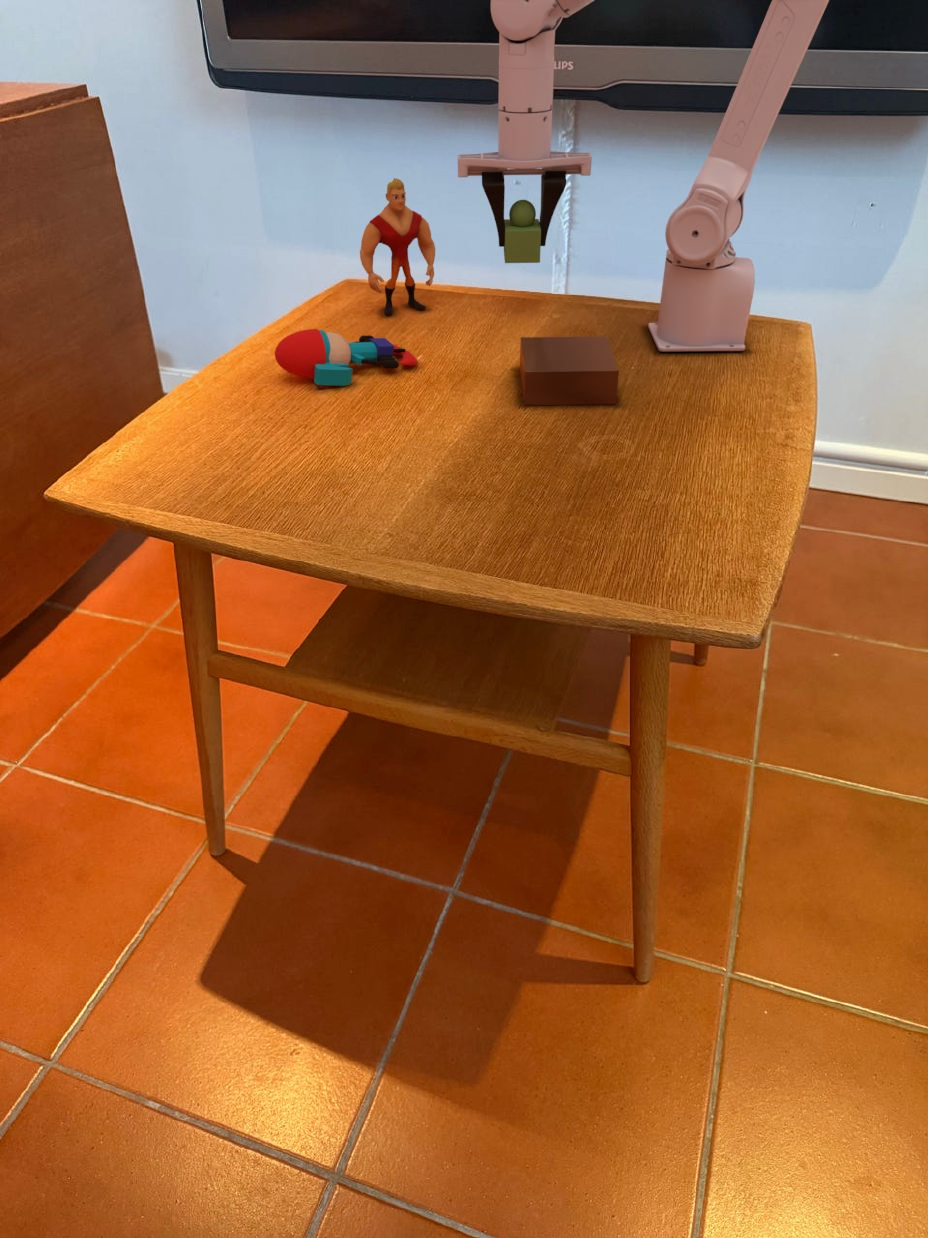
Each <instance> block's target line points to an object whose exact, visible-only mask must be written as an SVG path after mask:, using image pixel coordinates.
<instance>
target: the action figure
mask: <svg viewBox="0 0 928 1238" xmlns="http://www.w3.org/2000/svg"><path fill="white" fill-rule="evenodd" d="M386 186H387V187H386V188H387V189H386V193H385V199H386V201H388V203H387V205H386V206H385V207H384V208H383V209H382V211H381V212H380V213H379V214H377V215H375V217H373V218H372V219H370V220H369V222H368V223H367V225H366V226H365V228H364V231H363V234H362V237H361V241H360V242H361V244H360V250H359V258H360V259H359V260H360V262H361V266H362V268H363V270H364V271H365V272H366V274H367V275H368V277H367V281H368V282H367V283H368V286H369V287H370V289H371V290H372V291H375V292H376V293H378V294H382V293H383V292H384V295H385V305H384V309H383V313H384V315H385V316H391V315H393V313H394V310H393V307H394V306H393V294H394V291H395V290H396V284H397V281H398V278H399V274H400V270H401V269H402V272H403V275H404V278H405V279H404V287H405V289H406V291H407V295H408V300H407V305H408V306H409V307H415V308H416V309H418V310H419V311H424V310H426V306H425V304H422V303H420V302H419V301H418V300H416V299H415V290H416V283H415V279H414V278H413V276H412V274H411V267H410V261H409V247H410V245H411V244H412V242H413V241H414V240H415V239H417V245H418V248H419V251H420V253H421V255H422V256H423V258H424V260H425V262H426V264H427V268H426V272H425V275H426V276H428V277H429V279H428V280H426V281H425V285H426V286H427V287H430V286H432V284H433V282H434V277H435V268H434V263H435V258H436V246H435V242H434V240H433V239H432V231H431V228H430V224H429V222H428V221H427V219H425V218H424V217H423V216H422V214H419V213H418V212H416V211H414V210H412V209H410V208H409V207H408V206H407V205H406V201H407V197H406V191H405V184H404V182H403V181H402V180H401V179H399V178H396V177H394V178H393V179H392V181H390V182H388V184H387V185H386ZM379 244H382V245H385V246H387V247H388V248H389V250H390V252H391V261H390V262H391V264H390V265H391V266H390V267H391V269H390V270H391V271H390V279H388V280H387V281H386V284H385V286H384V289H383V287H381V285H380V283H384V282H385V280H384V279H383V278H382V276H381V275H379V274H377V273H375V272H374V255H375V253H376V249H377V247H378V246H379ZM379 282H380V283H379Z"/></svg>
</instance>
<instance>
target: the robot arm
mask: <svg viewBox="0 0 928 1238" xmlns="http://www.w3.org/2000/svg"><path fill="white" fill-rule="evenodd" d="M593 2H595V0H490V14H491V19H492V22H493V24H494V27H495V28H496V30H497V31H498V32H499V34H498V35H499V36H498V38H499V39H498V41H499V42H498V115H497V116H498V118H497V119H498V124H497V125H498V130H497V132H498V137H497V139H498V140H497V141H498V143H497V151H490V152H483V153H482V152H481V153H467V154H466V153H465V154H464V153H463V154H458V155H457V178H468V177H479V176H480V177H481V186H482V188H483V191H484V194H485V196H486V197H487V202H488V204H489V205H490V209H491V211H492V215H493V219H494V222H495V226H496V230H497V237H498V247H499V248H500V247H501V248H502V247H503V248H504V247H505V224H504V219H505V193H506V192H505V190H506V189H505V188H506V185H505V176H540V178H541V179H540V211H539V223H540V228H541V247H546V242H547V236H548V231H549V228H550V225H551V222H552V219H553V215H554V213H555V210H556V208H557V207H558V206H557V205H558V203H559V201H560V199H561V197H562V195H563V193H564V192H565V189H566V186H567V175H580V176H582V177H583V176H586V177H587V176H591V175H592V161H593V156H592V154H591V152H575V151H574V152H573V151H557V150H556V151H555V150H554V151H553V150H551V149H552V129H553V128H552V127H553V104H554V103H553V102H554V83H555V81H554V80H555V43H556V42H555V41H556V30H557V28H558V27H559V26H560V24H561V23H562V20H563V18H567V19H568V18H569V17H571V16H572V15H573V14H575V13H577V12H579V11H580V10H582V9H584V8H585V7H586V6H588V5H590V4H591V3H593ZM829 2H830V0H771V2H770V5H769V6H768V9H767V11H766V14H765V17H764V19H763V22H762V24H761V26H760V28H759V31H758V33H757V36H756V39H755V41H754V44H753V46H752V47H751V50H750V53H749V55H748V57H747V60H746V63H745V65H744V68H743V70H742V73H741V75H740V77H739V80H738V82H737V85H736V86H735V90H734V92H733V94H732V96H731V99H730V100H729V101H730V102H729V104H728V106H727V109H726V111H725V114H724V116H723V118H722V121H721V124H720V126H719V128H718V130H717V133H716V136H715V138H714V140H713V143H712V145H711V148H710V149H709V153H708V154H707V157H706V159H705V161H704V162H703V165H702V166H701V168H700V171H699V172H698V174H697V176H696V177H695V180H694V182H693V183H692V186H691V188H690V191H689V193H688V195H687V197H686V198H685V199H684V200H683V202H682V203H681V204H679V205H678V206H677V207H676V208H675V209H674V210H673V211H672V213H671V214H670V216H669V217H668V220H667V223H666V226H665V243H666V246H667V248H668V249H667V250H666V255H665V256H666V257H665V261H664V270H663V277H662V278H663V279H662V286H661V293H660V294H661V295H660V301H659V310H658V318H657V322H649V323H648V325H647V328H648V330H649V332H650V334H651V337H652V339H653V341H654V343H655V347H656V348H657V350H658V352H663V353H668V352H669V353H673V352H674V353H675V352H678V353H679V352H743V351H745V350H746V345H745V340H746V335H747V331H748V330H747V329H748V324H749V319H750V313H751V307H752V303H753V302H752V301H753V297H754V292H755V283H756V281H755V276H756V274H755V273H756V271H755V266H754V263H753V260H752V259H751V258H749V257H739V256H738V257H737V253H736V251H734V250H735V249H734V247H733V243H732V242H731V241H730V238H732V237H733V236H734V235H735V233H737V232H738V229H740V226H741V224H742V223H743V218H744V212H745V210H744V209H745V205H744V201H745V194H746V192H747V189H748V188H749V185H750V183H751V180H752V176H753V173H754V169H755V167H756V164H757V162H758V160H759V158H760V155H761V153H762V151H763V149H764V147H765V144H766V142H767V140H768V137H769V135H770V133H771V131H772V129H773V127H774V124H775V122H776V120H777V117H778V115H779V113H780V111H781V109H782V106H783V105H784V102H785V100H786V98H787V95H788V93H789V90H790V89H791V86H792V84H793V82H794V79H795V77H796V76H797V73H798V71H799V68H800V66H801V64H802V62H803V60H804V57H805V55H806V53H807V51H808V48H809V46H810V44H811V43H812V40H813V37H814V35H815V33H816V31H817V28H818V26H819V24H820V22H821V20H822V17H823V15H824V12H825V10H826V8H827V6H828V4H829Z"/></svg>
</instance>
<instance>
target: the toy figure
mask: <svg viewBox="0 0 928 1238" xmlns="http://www.w3.org/2000/svg"><path fill="white" fill-rule="evenodd" d="M394 355H397V356H400V357H402V358H401V361H400V362H399V361H398V360H397V359H396V358H395V357H394ZM274 358H275V361H276V363H277V364H278V365H279V367H280V368H282V369H283V370H284V371H285V372H287V373H289V374H291V375H294V376H297V377H299V378H305V379H313V382H314V384H315V385H317V386H338V387H339V386H340V387H341V386H344V387H345V386H350V385H352V379H353V370H354V368H352V367H350V365H354V364H355V365H359V366H362V365H381V366H382V368H383V369H386V370H387V369H388V370H389V369H391V370H393V369H395V370H396V369H398V368H399V366H400V365H402V366H415V365H418V364H419V362H418V359H417V358H416V356H415V355H413V354H412V353H411V352H410V351H408V350H406V348H401V347H400V346H398V345H396V344H392V343H391V342H390V341H389V340H388V339H387V338H385V337H374V336H373V335H371V334H370V335H368V334H367V335H366V334H365V335H361V336H360V337H359V338H358V340H356V341H352V342H348V341H347V339H345V338H344V337H343V336H342V335H340V334H339V333H337V332H332V331H325V330H323V329H318V328H310V329H309V328H308V329H303V330H298V331H295V332H293V333H290V334H289V335H286V336H285V337H284V338H282V339H281V340H280V341H279V342H278V344H277V345H276V347H275V350H274Z"/></svg>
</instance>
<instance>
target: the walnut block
mask: <svg viewBox="0 0 928 1238" xmlns="http://www.w3.org/2000/svg"><path fill="white" fill-rule="evenodd" d="M519 344H520V345H519V347H520V349H519V374H520V382H521V392H522V398H523V399H522V400H523V406H584V405H585V406H593V405H595V406H598V405H599V406H601V405H606V406H607V405H616V404H617V403H616V402H617V393H618V385H619V376H620V375H619V374H620V370H619V367H618V364H617V362H616V359H615V355H614V352H613V349H612V347H611V343H610V341H609V338H608V336H533V337H531V336H530V337H526V336H525V337H524V336H523V337H520V343H519Z"/></svg>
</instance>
